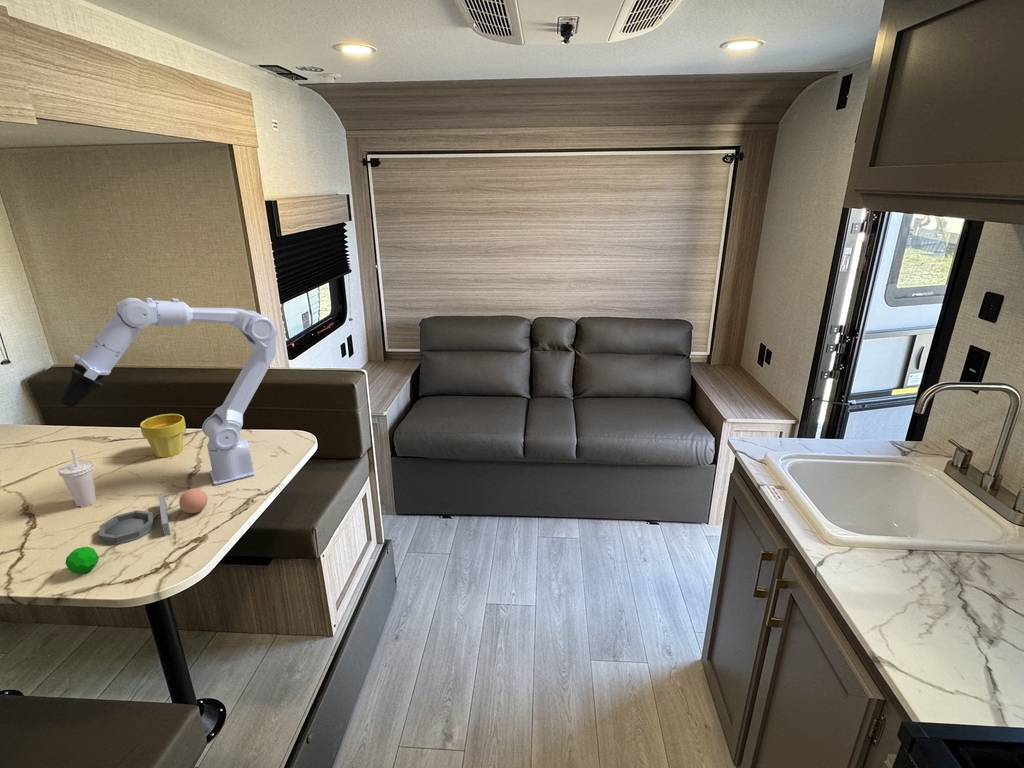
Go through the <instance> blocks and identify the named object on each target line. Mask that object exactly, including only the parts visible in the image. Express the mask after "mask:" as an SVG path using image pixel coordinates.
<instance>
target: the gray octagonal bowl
mask: <svg viewBox="0 0 1024 768" xmlns="http://www.w3.org/2000/svg"><path fill="white" fill-rule="evenodd" d="M156 525H157V520H156V518H155V516H154V514H153V512H151V511H146V510H140V509H139V510H137V509H136V510H132V511H128V512H125V513H121V514H118V515H117V514H116V515H115V516H114V515H113V517H112V518H110V519H108V520H107V521H105V522H104V523H102V524H101V525H99V527H98V528H99V529H98V540H99V542H100V543H102V544H104V545H108V546H109V545H111V546H112V545H113V546H114V545H121V544H126V543H130V542H132V541H136V540H138V539H140V538H143V537H144V536H146V535H147V534H149V533H150V532H151V531H152V530H153V529H154V528H155V526H156Z"/></svg>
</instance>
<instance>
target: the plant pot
mask: <svg viewBox="0 0 1024 768" xmlns="http://www.w3.org/2000/svg"><path fill="white" fill-rule="evenodd" d="M186 427H187V426H186V421H185V417H184V416H183V415H181V414H178V413H167V414H165V413H164V414H159V415H154V416H152V417H147V418H146V419H145V420H143V421H141V422H140V424H139V428H140V431H141V434H142V437H143V438H145V439H146V440H147V442H148V444H149V446H150V448H151V450H152V451H153V453H154V456H155V457H158V458H168V457H170V458H171V457H173V456H176V455H178V454H180V453H181V452H182V451H183V449H184V448H183V447H184V446H183V445H184V432H185V430H186Z"/></svg>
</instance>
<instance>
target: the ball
mask: <svg viewBox="0 0 1024 768" xmlns="http://www.w3.org/2000/svg"><path fill="white" fill-rule="evenodd" d="M208 499H209V498H208V496H207V493H206V492H205V491H204V490H202V489H201V488H200V489H199V488H190V489H187V490H185V491H184V492H183V493H182V494H181V495H180V497H179V500H178V502H179V503H178V505H179V507H180V509H181V510H182V511H183V512H184V513H187V514H196V513H199V512H201V511H203V510H204V508H205V507H206V506H207V504H208Z"/></svg>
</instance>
